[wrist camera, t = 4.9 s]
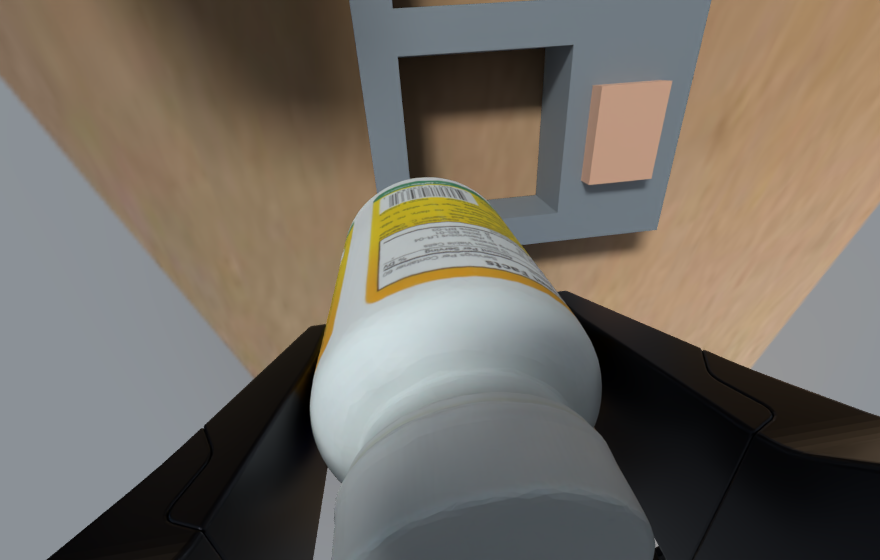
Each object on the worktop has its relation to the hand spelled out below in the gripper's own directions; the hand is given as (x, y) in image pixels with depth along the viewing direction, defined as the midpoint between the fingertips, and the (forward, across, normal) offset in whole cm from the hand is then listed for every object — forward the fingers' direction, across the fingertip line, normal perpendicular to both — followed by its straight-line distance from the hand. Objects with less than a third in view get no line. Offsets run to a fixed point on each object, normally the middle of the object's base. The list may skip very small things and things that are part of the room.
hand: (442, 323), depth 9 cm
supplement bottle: (+4, 0, 0) cm, 4 cm away
